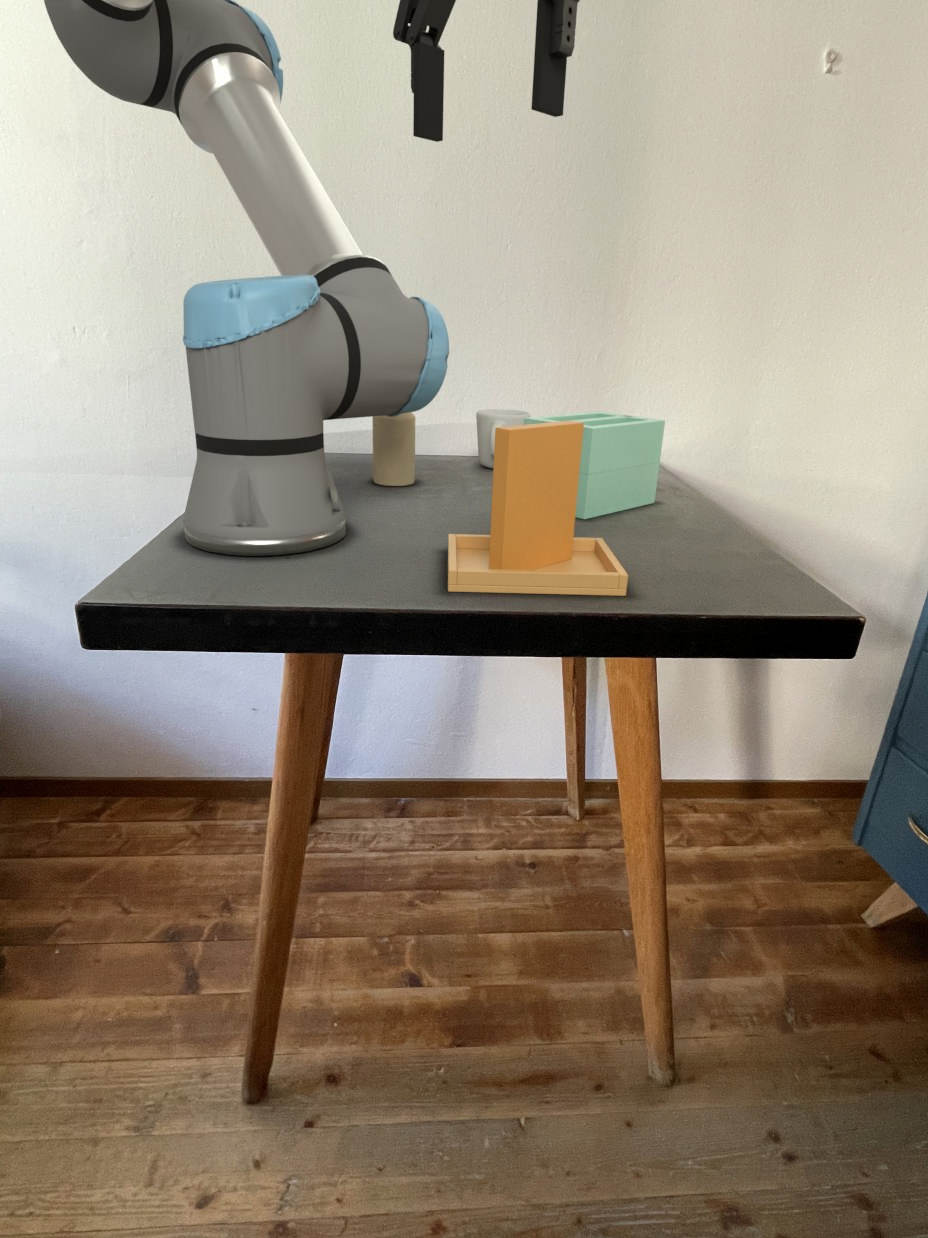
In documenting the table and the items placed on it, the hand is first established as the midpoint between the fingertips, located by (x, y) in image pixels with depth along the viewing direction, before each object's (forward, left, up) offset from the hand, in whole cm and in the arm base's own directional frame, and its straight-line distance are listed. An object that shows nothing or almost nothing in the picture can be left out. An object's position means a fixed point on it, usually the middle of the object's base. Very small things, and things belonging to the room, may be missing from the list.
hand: (483, 126), depth 59 cm
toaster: (-4, +24, -35) cm, 42 cm away
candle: (-27, +12, -35) cm, 46 cm away
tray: (+10, -2, -35) cm, 36 cm away
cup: (-26, +31, -35) cm, 53 cm away
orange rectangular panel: (+10, -2, -34) cm, 36 cm away
